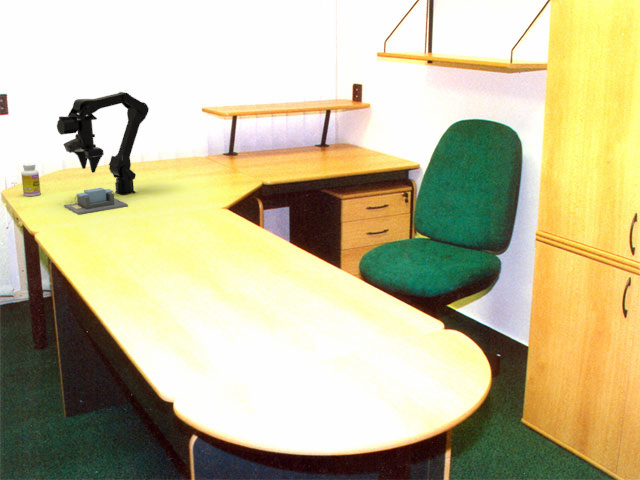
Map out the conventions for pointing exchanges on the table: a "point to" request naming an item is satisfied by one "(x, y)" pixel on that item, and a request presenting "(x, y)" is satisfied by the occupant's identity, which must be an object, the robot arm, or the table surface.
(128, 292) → the table surface
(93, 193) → the block
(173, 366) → the table surface
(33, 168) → the supplement bottle
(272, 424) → the table surface
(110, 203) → the chassis plate
